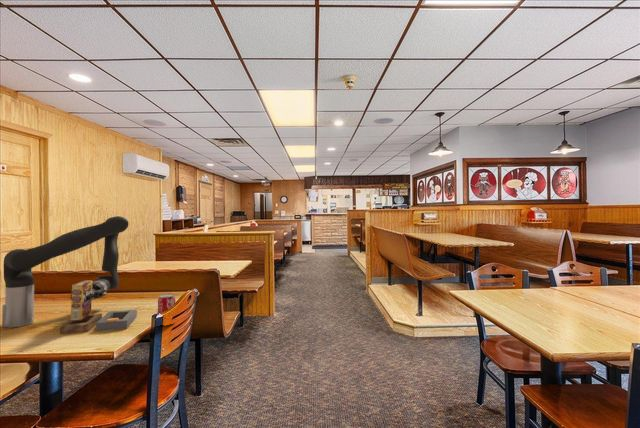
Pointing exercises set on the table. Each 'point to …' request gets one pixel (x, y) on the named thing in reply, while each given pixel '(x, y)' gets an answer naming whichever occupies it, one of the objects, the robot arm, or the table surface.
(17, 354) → the table surface
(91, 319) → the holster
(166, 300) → the soda can
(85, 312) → the candy box
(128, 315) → the dock
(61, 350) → the table surface
